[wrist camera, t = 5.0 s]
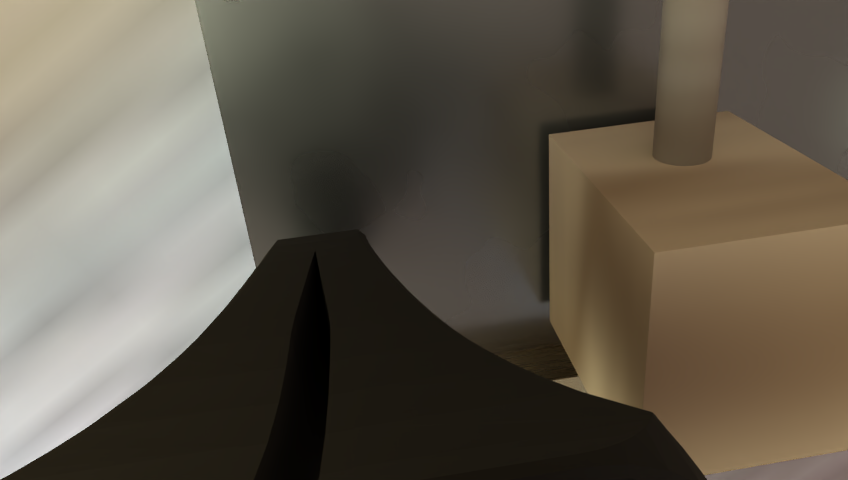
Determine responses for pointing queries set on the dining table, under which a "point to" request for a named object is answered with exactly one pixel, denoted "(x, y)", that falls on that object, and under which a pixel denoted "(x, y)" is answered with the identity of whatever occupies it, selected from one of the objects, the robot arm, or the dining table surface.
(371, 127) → the bolt plate
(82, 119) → the dining table surface
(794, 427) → the slider
